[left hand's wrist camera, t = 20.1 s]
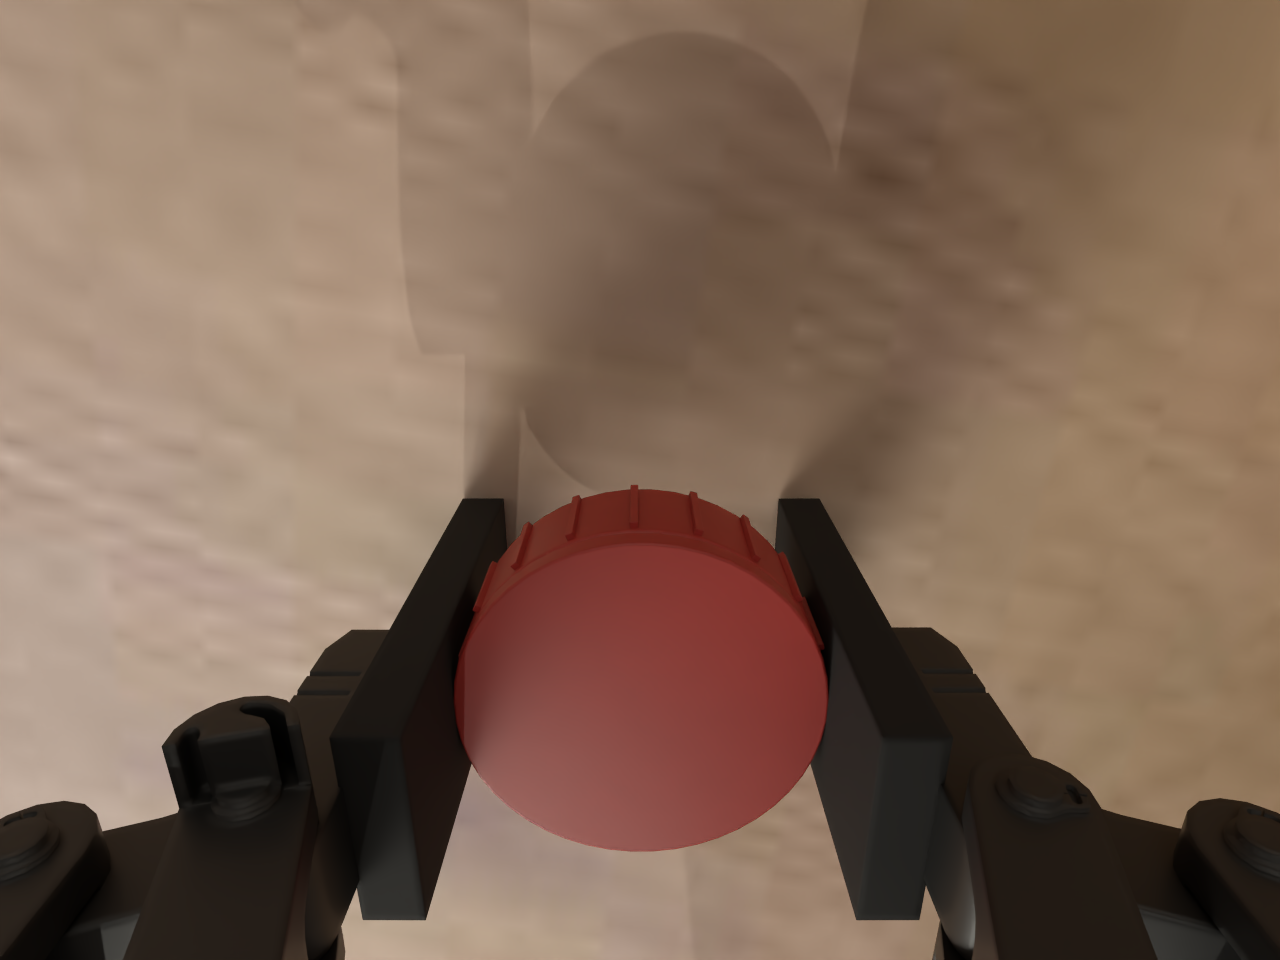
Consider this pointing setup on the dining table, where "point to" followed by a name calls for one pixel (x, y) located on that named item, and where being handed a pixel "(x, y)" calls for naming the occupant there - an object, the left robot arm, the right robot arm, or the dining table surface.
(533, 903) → the dining table surface
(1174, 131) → the dining table surface
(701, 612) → the lid
